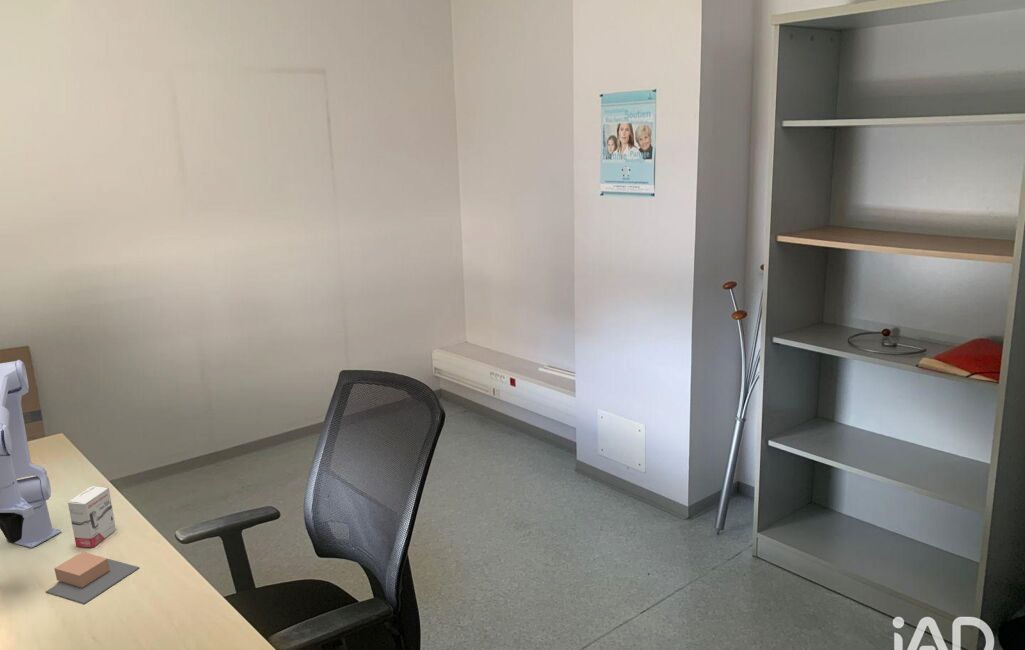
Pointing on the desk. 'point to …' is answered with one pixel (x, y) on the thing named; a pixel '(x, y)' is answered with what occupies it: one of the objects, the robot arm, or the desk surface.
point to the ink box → (92, 516)
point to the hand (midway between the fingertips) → (15, 540)
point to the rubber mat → (94, 583)
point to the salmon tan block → (82, 569)
